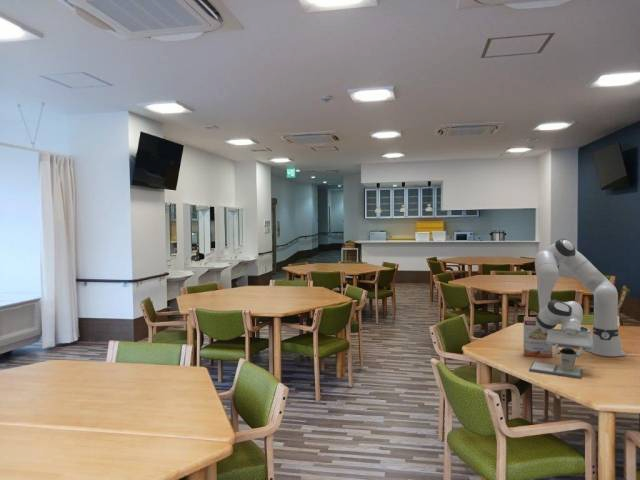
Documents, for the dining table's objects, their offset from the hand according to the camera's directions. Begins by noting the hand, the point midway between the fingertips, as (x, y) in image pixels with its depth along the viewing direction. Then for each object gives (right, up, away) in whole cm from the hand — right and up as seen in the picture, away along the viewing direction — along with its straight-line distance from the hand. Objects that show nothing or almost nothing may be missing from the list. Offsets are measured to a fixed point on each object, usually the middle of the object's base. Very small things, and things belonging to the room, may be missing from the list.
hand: (567, 354), depth 217 cm
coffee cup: (0, -8, +1) cm, 8 cm away
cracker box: (0, -8, +30) cm, 31 cm away
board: (-4, -9, +4) cm, 10 cm away
